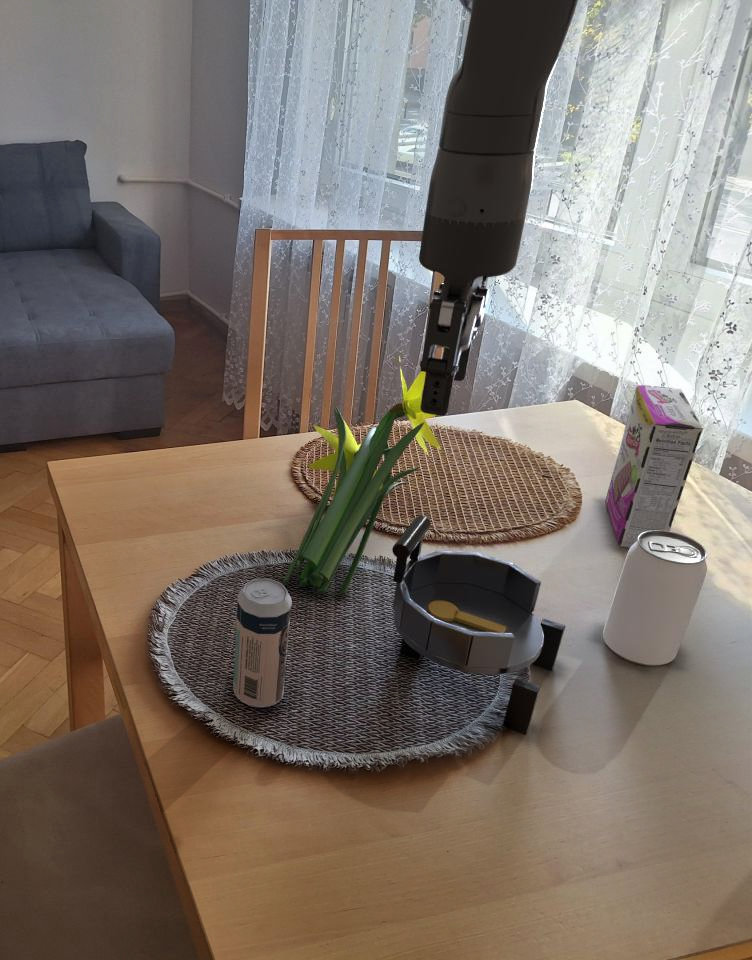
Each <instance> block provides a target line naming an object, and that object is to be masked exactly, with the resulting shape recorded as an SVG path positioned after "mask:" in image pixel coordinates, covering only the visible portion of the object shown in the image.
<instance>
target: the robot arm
mask: <svg viewBox="0 0 752 960" xmlns="http://www.w3.org/2000/svg"><path fill="white" fill-rule="evenodd" d="M458 2H459V3H460V5H461V6H462V8H463V9H464V10H465V11H466V13H467V14H468V15H470V16H469V23H468V28H467V34H466V39H465V43H464V50H463V56H462V61H461V64H460V66H459V68H458V69H457V70H456V72H455V73H454V74H453V75H452V78H451V80H450V83H449V85H448V88H447V92H446V96H445V101H444V107H443V113H442V118H441V119H442V120H441V126H440V132H439V140H438V148H437V153H436V156H435V161H434V164H433V167H432V171H431V174H430V179H429V186H428V191H427V192H428V193H427V199H426V206H425V213H424V219H423V226H422V234H421V239H420V247H419V255H418V261H419V264H420V265H421V266H422V267H423V268H424V269H426V270H428V271H431V272H433V273H436V272H437V273H439V274H440V275H441V276H443V277H444V278H443V282H440V283H439V285H438V289H437V290H434V291H433V294H432V296H431V301H430V303H429V307H428V309H429V317H428V321H427V328H426V333H425V339H424V346H423V351H422V358H421V360H420V362H419V367H420V372H421V371H423V372H426V376H425V382H424V387H423V390H422V394H421V397H422V400H421V407H420V408H421V411H422V412H424V413H428V414H433V415H437V416H440V417H443V416H446V414H447V413H448V411H449V410H450V404H451V399H452V394H453V387H454V383H455V381H456V382H462V381H464V380H465V378H466V376H467V372H468V366H469V361H470V355H471V350H472V345H473V341H474V340H475V337H477V335H478V333H479V332H478V328H480V327H481V325H482V322H483V318H484V315H485V308H486V306H487V302H488V299H489V295H490V288H489V287H487V286H488V281H489V278H494V277H501V276H504V275H506V274H509V273H510V272H512V271H513V270H514V269H515V268H516V266H517V262H518V257H519V252H520V248H521V241H522V237H523V233H524V228H525V222H526V218H527V212H528V207H529V203H530V196H531V193H532V189H533V188H532V186H533V182H534V181H533V180H534V171H535V170H534V169H535V168H534V167H535V156H536V148H537V144H538V139H539V133H540V128H541V124H542V118H543V114H544V113H543V112H544V109H545V102H546V95H547V89H548V85H549V81H550V79H551V76H552V74H553V71H554V69H555V67H556V64H557V62H558V59H559V57H560V54H561V51H562V48H563V46H564V43H565V40H566V37H567V36H568V32H569V29H570V26H571V23H572V21H573V17H574V15H575V11H576V8H577V6H578V2H579V0H458ZM439 348H443V352H442V358H438V357H436V353H437V349H439Z"/></svg>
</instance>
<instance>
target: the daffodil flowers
mask: <svg viewBox="0 0 752 960" xmlns="http://www.w3.org/2000/svg"><path fill="white" fill-rule="evenodd" d="M398 358H399V359H398V360H399V361H402V360H401V356H400V355H398ZM399 370H400V371H399V372H400V379H401V387H402V402H397V403H396V404H395V405H393V406H392V407H391V408H390V409H388V411H387V412H386V413H385V414H384V415H383V417H382V418H381V420H380V421H379V423H378V424H377V426H376V427H375V426H373V427H371V428H370V429H369V430H368V432H367V433H366V435H365V436H364V438H363V440H362V442H361V443H359V444H358V443H357V441H356V439H355V437H354V435H353V432H352V431H351V429H350V428H349V426H348V424H347V423H346V421H345V420H344V418H343V415H342V413H341V411H340V410H339V408H338V406H337V405H335V408H334V410H333V411H334V418H335V423H336V430H337V435H336V434H334V433H333V432H331V431H328V430H327V429H324V428H322V427H320V426H317V425H316V424H313V425H312V426H313V428H314V429H315V431H316V432H317V433H319V434H320V435H321V436H322V437H323V438H324V440H325V441H326V442H327V443H328V444H329V446H330V447H331V448H332V449H333V450H334V451H335V452H332V453H330V454H328V455H325V456H323V457H321V458H319V459H317V460H315V461H313V462H311V463H310V464H308V466H307V467H308V468H310V469H311V470H322V471H331V472H332V474H331V476H330V478H329V480H328V482H327V485H326V486H325V489H324V491H323V493H322V495H321V498H320V499H319V502H318V504H317V506H316V509H315V510H314V513H313V515H312V518H311V520H310V522H309V525H308V527H307V529H306V531H305V534H304V535H303V538H302V541H301V543H300V546H299V547H298V549H297V551H296V553H295V555H294V558H293V559H292V561H291V564H290V566H289V567H288V570H287V572H286V574H285V576H284V578H283V580H282V582H281V583H282V585H283V586H284V587H285V586H286V585H287V584H288V582H289V580H290V578H291V576H292V574H293V572H295V573H299V571H300V569H301V568H302V567H303V564H304V562H305V561H306V563H305V565H304V567H303V569H302V571H301V573H300V575H299V577H298V578H297V580H298V586H299V587H303V586H304V587H308V586H309V585H310V586H313V587H315V588H317V590H316V592H315V594H316V595H323V594H325V593H326V592H327V589H328V588H329V586H330V584H331V582H332V580H333V578H334V577H335V575H336V573H337V571H338V569H339V567H340V565H341V563H342V561H343V560H344V558H345V556H346V555H347V553H348V551H349V549H350V548H351V546H352V544H353V543H354V541H355V540H356V538H357V537H358V535H359V533H360V532H361V530H362V529H363V527H364V526H365V525H366V526H365V529H364V532H363V535H362V537H361V539H360V542H359V544H358V546H357V550H356V552H355V555H354V558H353V560H352V563H351V565H350V567H349V569H348V572H347V574H346V576H345V579H344V581H343V583H342V585H341V587H340V590H339V592H338V595H337V596H338V597H344V596H345V595H346V594H347V592H348V589H349V587H350V584H351V583H352V581H353V578H354V575H355V573H356V570H357V568H358V566H359V564H360V561H361V558H362V556H363V553H364V551H365V548H366V546H367V543H368V540H369V538H370V535H371V532H372V530H373V528H374V526H375V523H376V520H377V517H378V515H379V512H380V510H381V507H382V505H383V502H384V500H385V497H387V495H388V494H389V493H390V492H391V491H392V490H393V489H394V488H395V487H398V486H402V485H407V484H409V483H410V481H399V480H400V479H401V478H404V477H405V476H408V475H410V474H413V473H414V472H417V470H419V467H418V468H417V467H416V468H411V469H407V470H404V471H400V472H398V473H396V474H395V475H393V476H392V470H393V468H394V467H395V465H396V464H397V462H398V461H399V459H400V457H401V456H402V455H403V453H404V452H405V450H406V449H407V448H408V446H409V445H410V444H411V442H412V441H413V440H414V438H415V439H416V441H417V443H418V445H419V446H420V447H421V448H422V450H423V451H424V452H425V454H426V455H427V456H428V457H430V455H429V451H428V448H427V446H426V442H427V443H428V444H429V445H430V446H433V447H434V448H437V449H439V450H441V449H442V448H441V446H440V443H439V441H438V440H437V438H436V435H434V433H433V431H432V429H431V428H430V426H429V424H428V422H427V420H426V419H432V418H434V417H436V416H438V415H433V414H428V413H424V412H422V411H421V408H420V407H421V400H422V394H423V388H424V382H425V376H426V372H423V371H421V370H420V372H419V373H418V375H417V376H416V378H415V380H414V381H413V382H412V384H411V385H410V387H409V389H408V386H407V385H408V384H407V382H406V380H405V376H404V374H403V371H402V368H401V366H399ZM405 416H406V417H407V419H408V420H409V422H410V425H411V428H412V429H411V430H410V431H408V432H407V433H406V434H405V435H404V436H403V437H401V438H400V439H399V441H397V443H395V445H394V446H393V447H389V443H388V442H389V439H390V436H391V432H392V430H393V426H394V424H395V420H397V419H399V418H403V417H405ZM425 441H426V442H425ZM383 455H384V459H383V461H382V462H381V464H380V461H381V459H382V458H383ZM379 464H380V465H379ZM378 466H379V467H378ZM377 468H378V469H377ZM337 475H338V476H337ZM397 481H399V482H397ZM334 485H335V487H334ZM333 488H334V489H333ZM333 490H334V492H333ZM332 492H333V496H332ZM331 496H332V499H331V501H330V503H329V500H330V498H331ZM328 504H329V505H328ZM327 506H328V507H327ZM326 508H327V509H326ZM297 563H298V564H297Z"/></svg>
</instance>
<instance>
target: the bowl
mask: <svg viewBox="0 0 752 960" xmlns="http://www.w3.org/2000/svg"><path fill="white" fill-rule="evenodd" d="M431 526H432V525H431V521H430V519H429V518H428V517H427V516H425V515H418V516H416V517H414V519H413V520H412V521H411V523H410V524H409V525H408V527H407V528H406V529H405V531H404V532H403V533H402V534H401V536H400V537H399V538H398V540H397V541H396V542H395V543H394V544H393V546H392V549H391V550H392V551H391V552H392V554H393V555H394V557H396V560H395V566H394V572H393V577H392V578H393V579H392V581H393V582H395V589H394V596H393V602H392V610H393V622H394V627H395V628H396V631H397V632H398V634H399V636H400V637H401V639H402V638H403V639H404V641H405V642H406V643H407V644H408V645H409V646H410V647H411V648H413V649H414V650H415V651H417V652H418V653H419V654H421V655H422V657H424V658H426V659H428V660H429V661H431V662H433V663H436V664H437V665H440V666H442V667H445V668H448V669H452V670H455V671H459V672H463V673H467V674H468V673H469V674H475V675H489V676H490V675H491V676H492V675H493V676H496V675H506V674H510V673H515V672H518V671H521V670H523V669H525V668H528V667H529V666H530V665H533V664H532V663H533V662H534V661H535V660H536V659H537V658H538V656H539V655H540V653H541V650H542V647H543V643H544V633H543V629H542V627H541V622H540V621H539V619H538V618H537V617H536V615H535V614H534V613H533V612H534V611H535V609H536V604H537V600H538V597H539V593H540V590H541V589H540V588H541V584H542V581H541V580H540V579H538V578H536V577H535V576H533V575H532V574H530V573H528V572H527V571H525V569H522V567H519V566H518V565H516V564H515V563H512V562H510V561H508V560H504V559H500V558H496V557H493V556H490V555H487V554H484V553H480V552H477V551H476V552H475V551H459V550H457V551H455V550H436V551H432V552H430V553H426V554H424V555H421V551H422V546H423V541H424V536H425V535H426V534H427V532H428V531H429V529H430V528H431ZM408 558H409V560H408ZM438 600H441V601H447V602H450V603H452V604H454V605H455V606H456V607H457V608H458V610H459V611H461V612H464V613H467V614H470V615H473V616H476V617H479V618H482V619H485V620H488V621H491V622H494V623H497V624H500V625H503V626H506V630H505V632H504V633H491V632H488V631H485V630H482V629H479V628H476V627H473V626H470V625H467V624H464V623H461V622H458V621H456V620H453V621H440V620H437V619H435V618H433V617H432V616H431V615H430V614H429V613H428V605H429V604H430V603H431V602H433V601H438Z"/></svg>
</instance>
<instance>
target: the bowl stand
mask: <svg viewBox="0 0 752 960" xmlns="http://www.w3.org/2000/svg"><path fill="white" fill-rule="evenodd" d="M540 624H541V627H542V629H543V633H544V643H543V647H542V650H541V653H540V655H539V656H538V658H537V659H536V660H535V661H534V662H533V663H532V664H531V665H533V666H536V667H539V668H542V669H545V670H548V671H551V672H552V671H553V670H554V667H555V665H556V661H557V658H558V653H559V650H560V647H561V644H562V640H563V636H564V633H565V629H566V625H565V624H563V623H559V622H556V621H553V620H550V619H547V618H542V620H541V622H540ZM400 644H401V645H400V649H399V654H402V655H404V656H407V657H410V658H412V659H415V660H418V661H421V658H422V657H423V655H421V654H419V653H418V652H417V651H415V650H414V649H413V648H411V647H410V646H409V645H408V644H407V643H406V642H405V641H404V639H403V638H402V637H401V643H400ZM540 689H541V685H538V684H535V683H532V682H530V681H527V680H525V679H521V678H520V677H515V679H514V681H513V684H512V686H511V691H510V695H509V699H508V703H507V706H506V710H505V715H504V718H503V721H502V727H504V728H507V729H510V730H513V731H515V732H517V733H520V734H523V735H525V736H526V735H527V734H528V731H529V729H530V726H531V722H532V718H533V715H534V710H535V709H536V708H535V707H536V703H537V700H538V696H539V693H540Z"/></svg>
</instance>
